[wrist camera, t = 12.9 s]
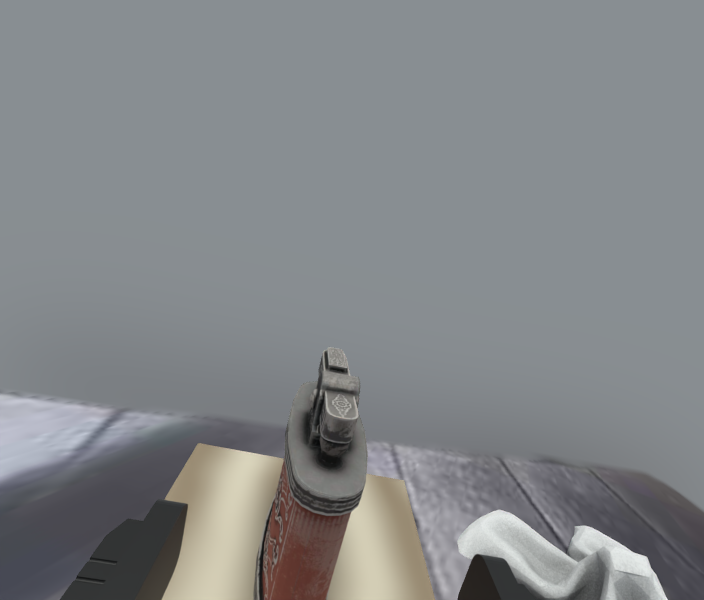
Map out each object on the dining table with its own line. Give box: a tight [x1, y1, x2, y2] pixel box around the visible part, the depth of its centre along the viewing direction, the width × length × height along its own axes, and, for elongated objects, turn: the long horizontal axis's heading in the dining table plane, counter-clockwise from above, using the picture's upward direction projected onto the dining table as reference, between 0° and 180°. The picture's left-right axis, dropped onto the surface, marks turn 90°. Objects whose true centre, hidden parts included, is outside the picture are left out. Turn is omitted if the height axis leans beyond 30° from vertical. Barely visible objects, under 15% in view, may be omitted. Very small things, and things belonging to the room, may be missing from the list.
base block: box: [162, 443, 435, 600], centre depth 18 cm, size 14×14×4 cm
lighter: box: [253, 347, 368, 600], centre depth 16 cm, size 8×3×10 cm, turn 6°
